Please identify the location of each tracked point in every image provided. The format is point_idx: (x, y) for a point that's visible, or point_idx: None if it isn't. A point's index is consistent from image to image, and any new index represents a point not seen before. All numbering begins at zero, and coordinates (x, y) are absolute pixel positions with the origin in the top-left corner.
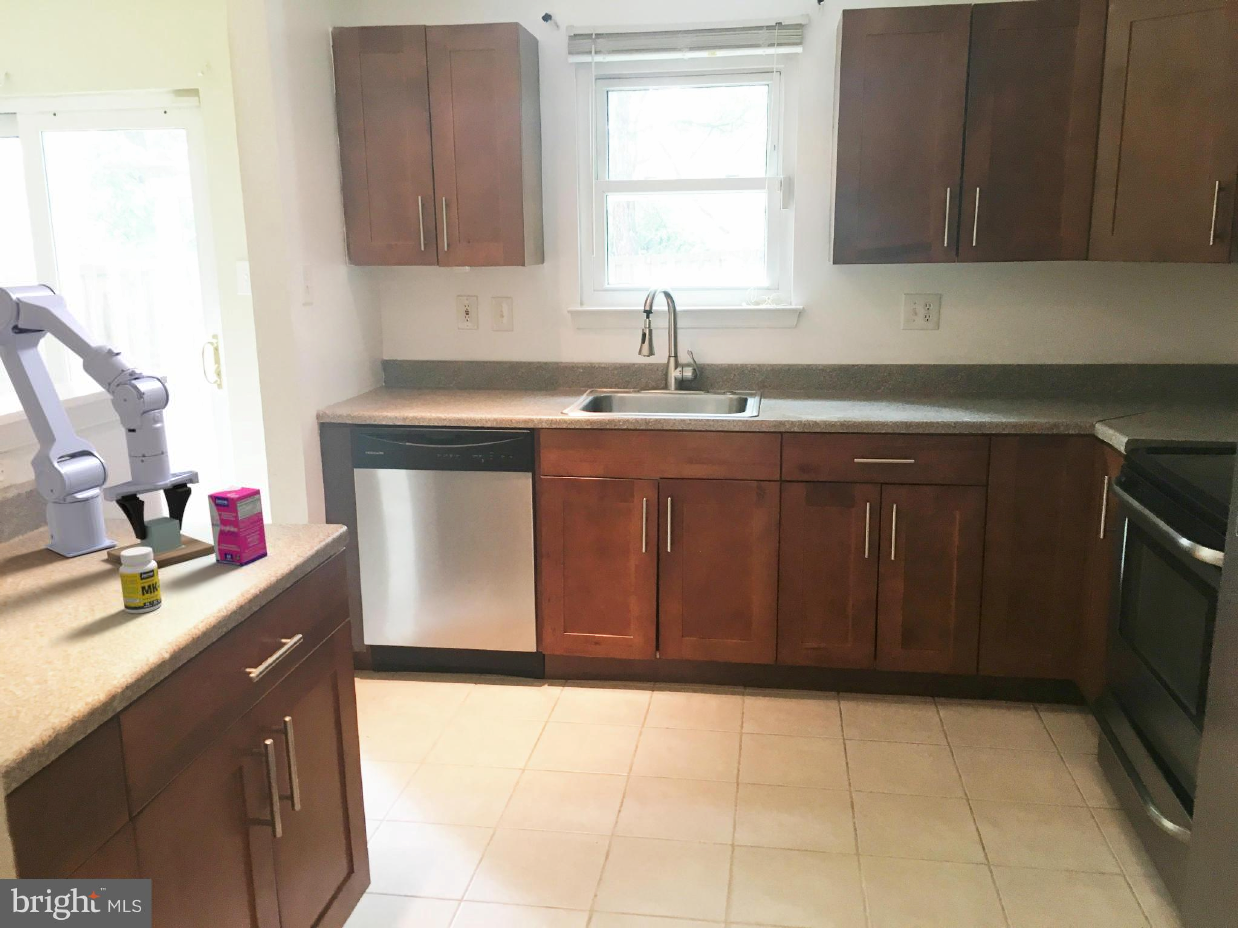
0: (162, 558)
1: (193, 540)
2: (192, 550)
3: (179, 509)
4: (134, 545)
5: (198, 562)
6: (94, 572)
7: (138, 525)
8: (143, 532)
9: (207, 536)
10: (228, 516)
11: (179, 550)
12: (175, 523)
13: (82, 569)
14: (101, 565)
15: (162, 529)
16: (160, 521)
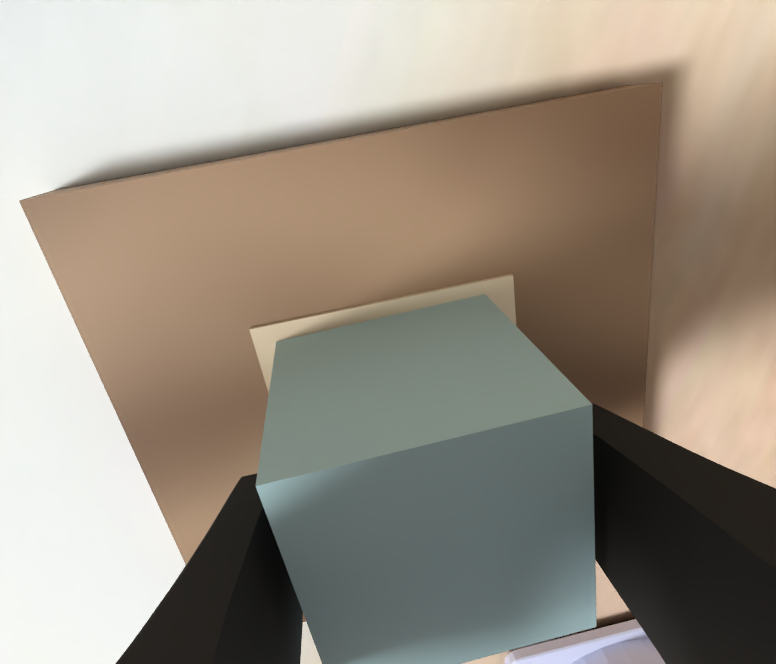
0: (484, 149)
1: (165, 449)
2: (228, 193)
3: (193, 657)
4: None
5: (231, 11)
6: (773, 319)
7: (717, 466)
8: (613, 428)
9: (60, 579)
10: None
11: (316, 270)
12: (303, 457)
13: (772, 409)
14: (689, 415)
15: (454, 402)
16: (432, 557)
